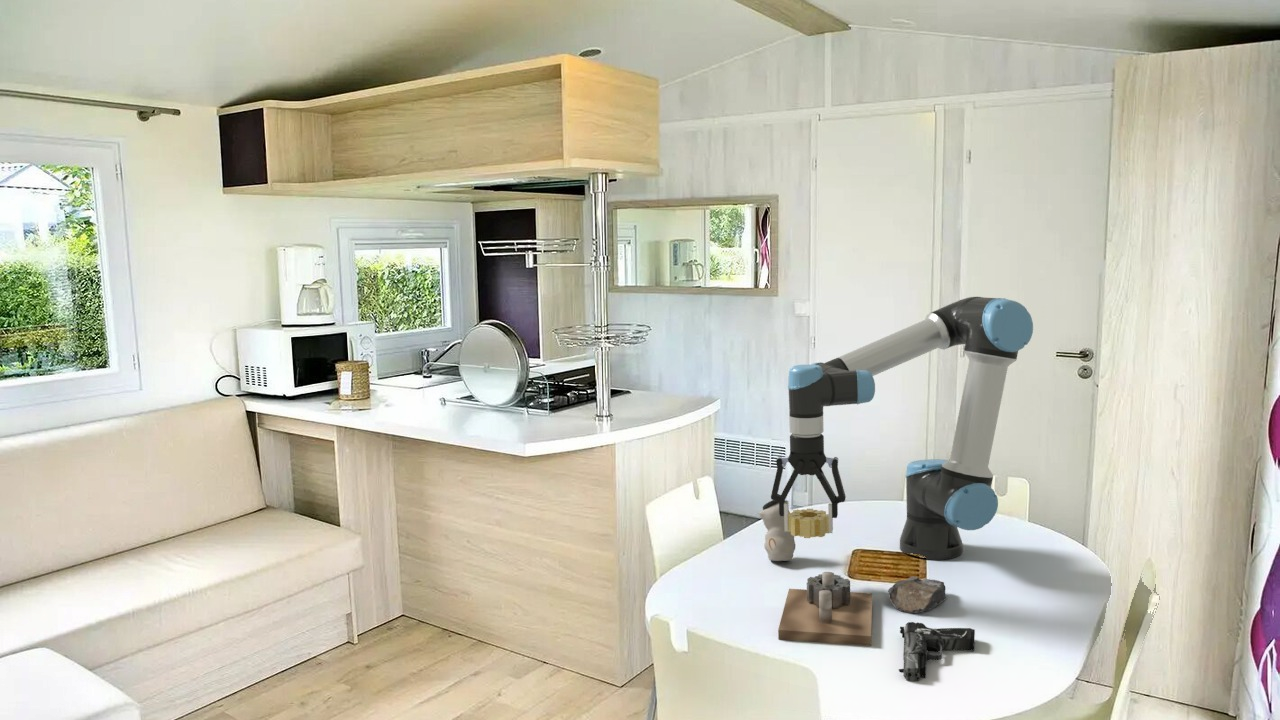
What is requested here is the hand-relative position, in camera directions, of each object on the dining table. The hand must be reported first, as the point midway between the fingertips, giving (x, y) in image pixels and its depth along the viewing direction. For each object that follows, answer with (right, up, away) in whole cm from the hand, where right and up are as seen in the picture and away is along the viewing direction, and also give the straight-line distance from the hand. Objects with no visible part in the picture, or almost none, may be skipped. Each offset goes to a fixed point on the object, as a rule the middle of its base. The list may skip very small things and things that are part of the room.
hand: (808, 530), depth 206 cm
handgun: (+18, -18, -36) cm, 44 cm away
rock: (+22, -14, -9) cm, 28 cm away
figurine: (-4, -11, +20) cm, 23 cm away
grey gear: (+2, -13, -12) cm, 17 cm away
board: (+1, -16, -17) cm, 23 cm away
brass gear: (0, 0, 0) cm, 0 cm away
